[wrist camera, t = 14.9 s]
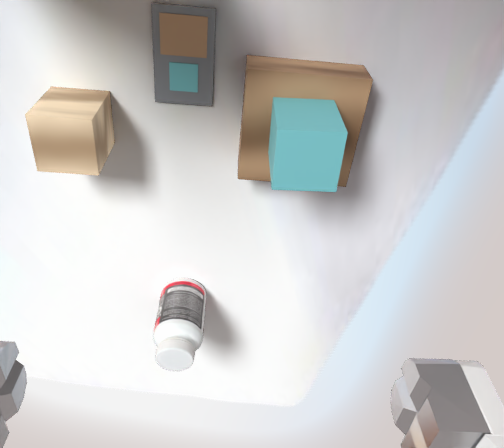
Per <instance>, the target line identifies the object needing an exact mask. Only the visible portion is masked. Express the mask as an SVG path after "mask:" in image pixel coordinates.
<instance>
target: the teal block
mask: <svg viewBox="0 0 504 448" xmlns="http://www.w3.org/2000/svg"><path fill="white" fill-rule="evenodd" d="M347 134H348V132H347V130H346V127H345V125H344V122H343V120H342V118H341V115H340V113H339V110H338V108H337V105H336V103H335V101H334V100H323V99H301V98H280V97H273V102H272V114H271V126H270V138H269V150H268V155H269V166H270V177H271V188H272V190H296V191H323V192H336V190H337V185H338V180H339V175H340V170H341V165H342V159H343V154H344V149H345V144H346V139H347Z"/></svg>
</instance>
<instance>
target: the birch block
mask: <svg viewBox="0 0 504 448" xmlns="http://www.w3.org/2000/svg"><path fill="white" fill-rule="evenodd" d="M25 116H26V121H27V125H28V130H29V134H30V139H31V144H32V148H33V153H34V157H35V162H36V166H37V171H43V172H57V173H71V174H85V175H99V174H100V172H101V170H102V168H103V166H104V164H105V162H106V160H107V158H108V156H109V154H110V152H111V150H112V148H113V145H114V143H115V140H114V129H113V119H112V108H111V98H110V91H99V90H88V89H76V88H64V87H52V86H51V87H50V88H49V90H48V91H47V92H46V93H45V94H44V95H43V96H42V97H41V98H40V99H39V100H38V101H37V102H36V104H35V105H34V106H33V107H32V108H31V109H30V110H29V111H28V112H27V113H26V114H25Z"/></svg>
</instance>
